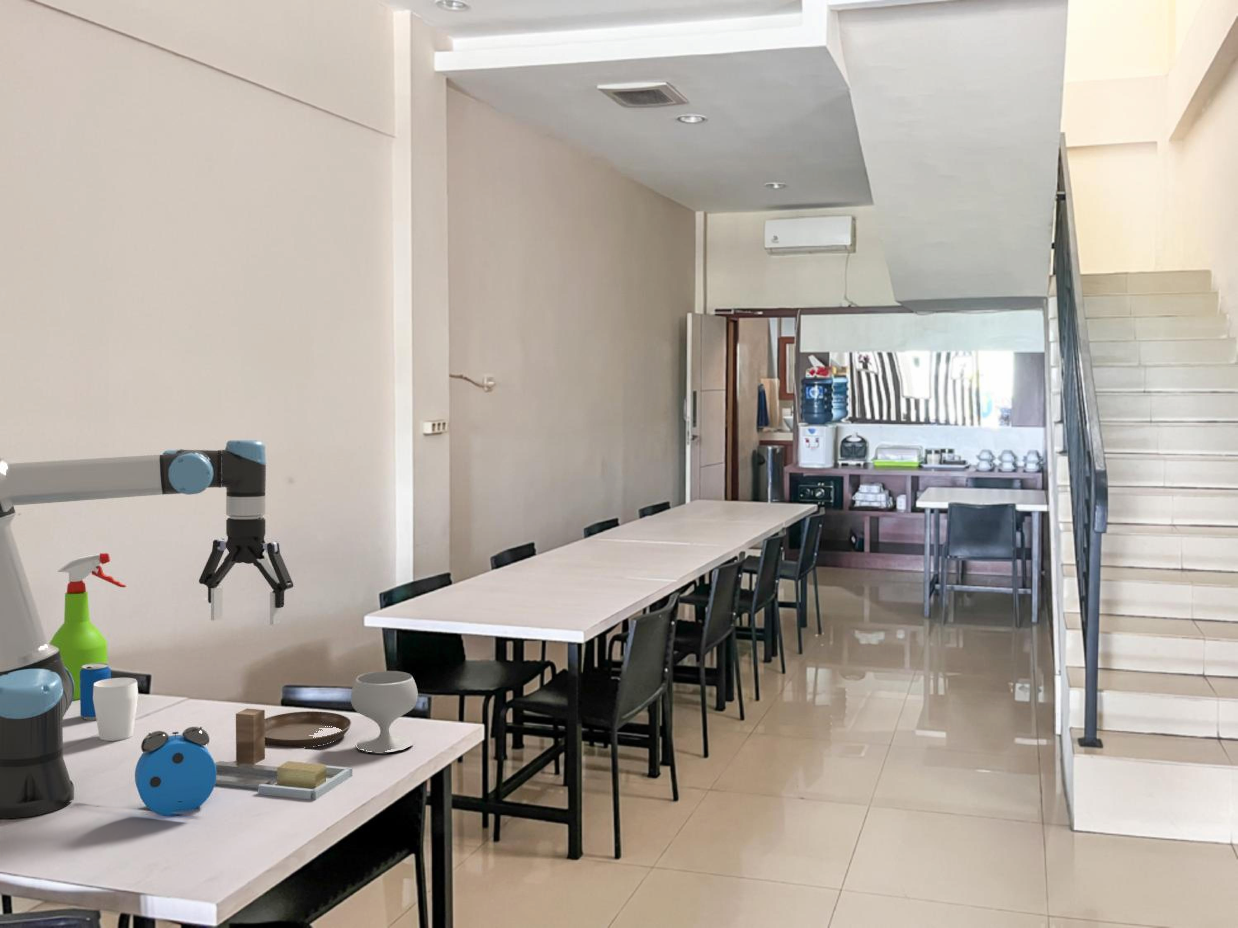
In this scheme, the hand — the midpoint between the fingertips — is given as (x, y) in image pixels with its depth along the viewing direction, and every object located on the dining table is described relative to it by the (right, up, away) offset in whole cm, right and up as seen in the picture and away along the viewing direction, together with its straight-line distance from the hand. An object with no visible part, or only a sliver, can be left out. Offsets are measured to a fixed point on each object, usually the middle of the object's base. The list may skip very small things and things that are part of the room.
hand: (245, 621), depth 230 cm
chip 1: (+13, -29, -14) cm, 35 cm away
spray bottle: (-58, -26, +55) cm, 84 cm away
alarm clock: (-4, -31, -27) cm, 41 cm away
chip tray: (+16, -30, -14) cm, 37 cm away
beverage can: (-46, -27, +34) cm, 63 cm away
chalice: (+25, -29, +13) cm, 41 cm away
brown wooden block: (+1, -29, 0) cm, 29 cm away
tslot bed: (+3, -30, -11) cm, 32 cm away
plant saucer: (+6, -29, +19) cm, 35 cm away
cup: (-34, -28, +18) cm, 48 cm away
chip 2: (+17, -29, -15) cm, 37 cm away
